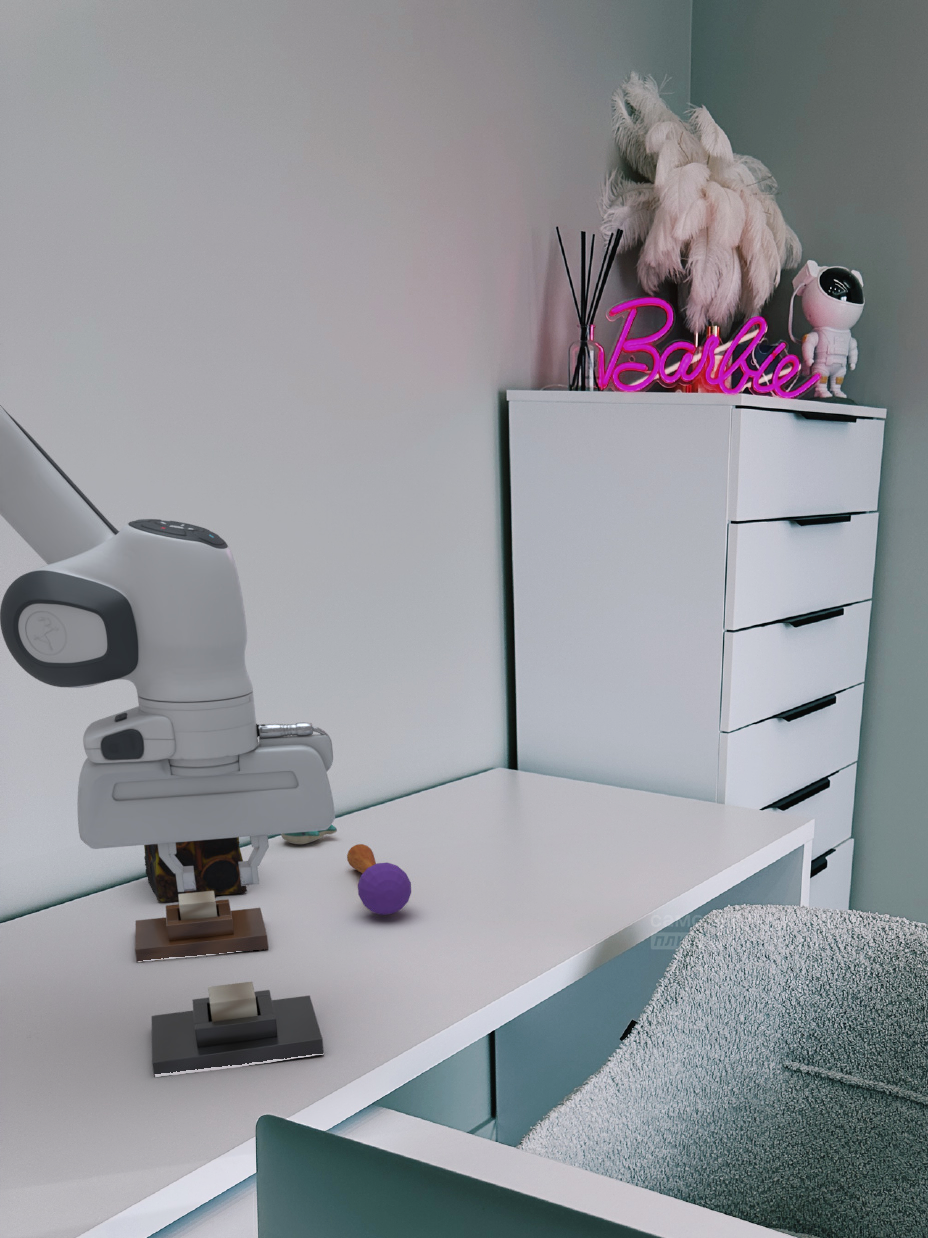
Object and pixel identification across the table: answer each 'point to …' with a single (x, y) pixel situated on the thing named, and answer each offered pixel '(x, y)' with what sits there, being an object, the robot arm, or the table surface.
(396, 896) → the purple maraca
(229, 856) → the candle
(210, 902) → the back key
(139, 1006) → the table surface
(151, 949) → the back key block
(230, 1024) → the dark grey socket base
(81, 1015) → the table surface
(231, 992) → the front key
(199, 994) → the table surface
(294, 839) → the whale figurine
